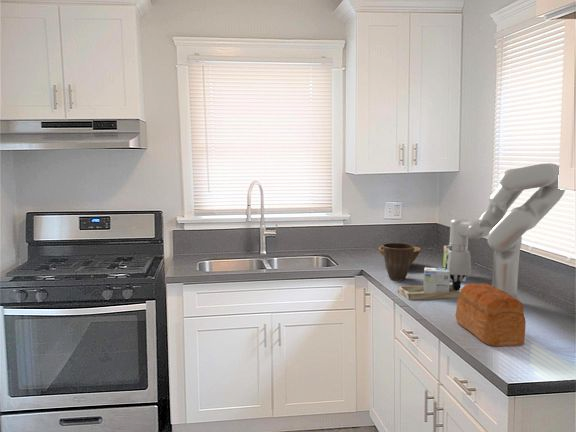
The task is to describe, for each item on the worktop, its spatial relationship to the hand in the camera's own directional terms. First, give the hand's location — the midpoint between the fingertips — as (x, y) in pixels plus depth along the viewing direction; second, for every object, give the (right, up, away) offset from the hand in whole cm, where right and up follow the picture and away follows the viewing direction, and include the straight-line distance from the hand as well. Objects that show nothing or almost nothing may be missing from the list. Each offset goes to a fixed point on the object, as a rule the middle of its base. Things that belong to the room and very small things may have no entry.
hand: (456, 289), depth 232 cm
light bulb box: (-9, -2, -1) cm, 9 cm away
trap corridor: (-11, -2, -2) cm, 11 cm away
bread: (-4, -8, -49) cm, 50 cm away
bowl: (-13, +5, +54) cm, 56 cm away
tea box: (+8, +1, +30) cm, 31 cm away
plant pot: (-20, +1, +27) cm, 33 cm away
